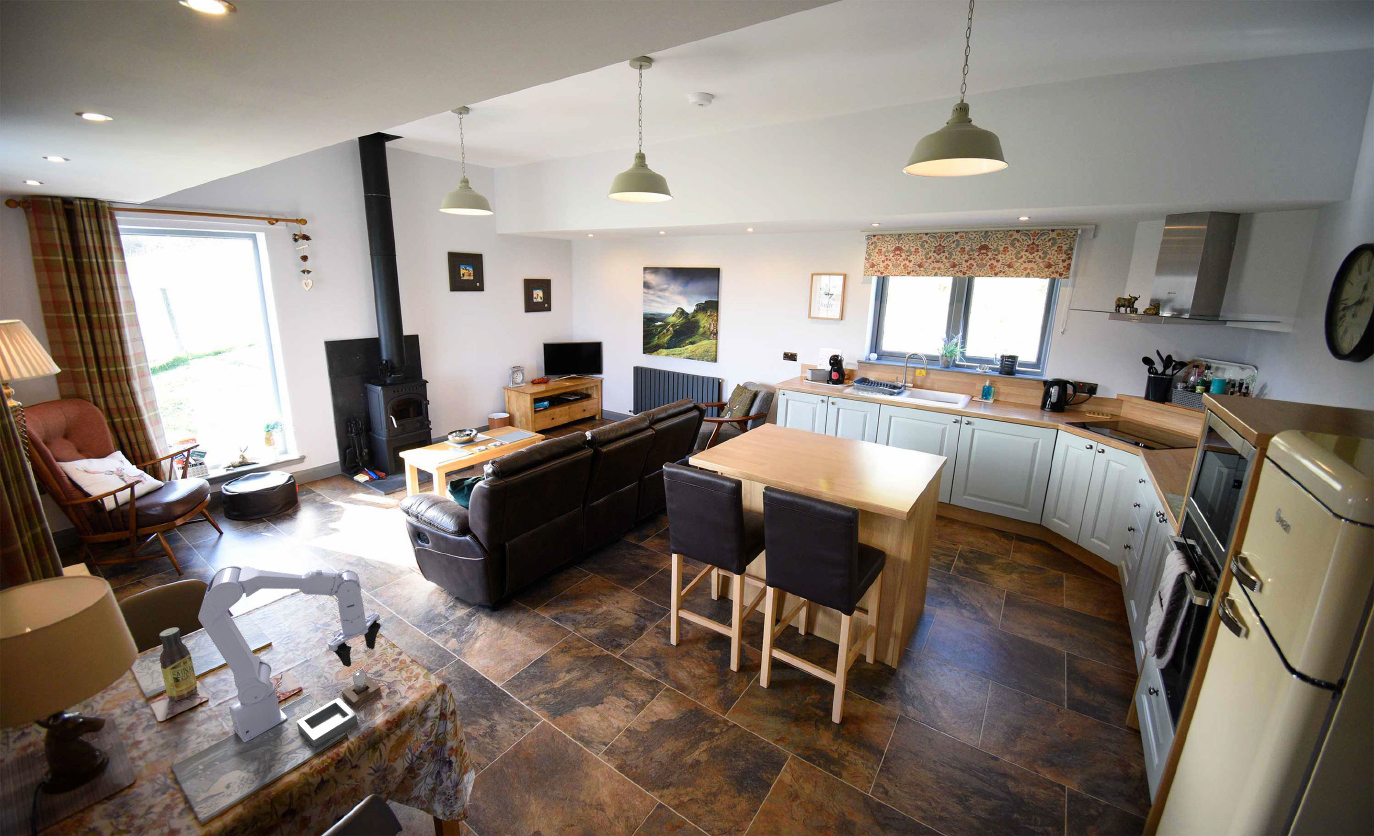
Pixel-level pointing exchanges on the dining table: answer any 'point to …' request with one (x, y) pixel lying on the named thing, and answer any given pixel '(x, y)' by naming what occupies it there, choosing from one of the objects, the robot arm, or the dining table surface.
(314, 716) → the tray
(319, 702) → the dining table surface
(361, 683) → the pin
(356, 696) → the frame
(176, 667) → the sauce bottle
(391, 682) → the dining table surface
